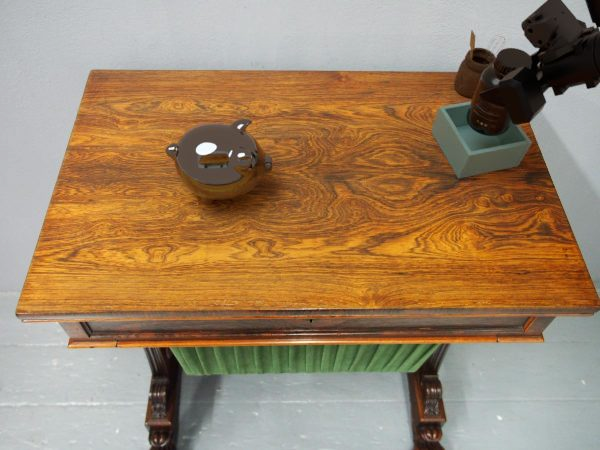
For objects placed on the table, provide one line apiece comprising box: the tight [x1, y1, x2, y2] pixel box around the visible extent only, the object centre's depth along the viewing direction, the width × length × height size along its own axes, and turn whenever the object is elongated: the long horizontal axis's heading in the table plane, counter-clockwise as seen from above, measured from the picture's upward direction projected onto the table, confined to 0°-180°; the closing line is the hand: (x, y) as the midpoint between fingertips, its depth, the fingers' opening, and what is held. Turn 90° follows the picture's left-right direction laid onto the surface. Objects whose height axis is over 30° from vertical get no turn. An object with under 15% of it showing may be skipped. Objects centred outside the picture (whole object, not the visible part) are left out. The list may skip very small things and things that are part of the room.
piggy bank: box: [164, 117, 274, 206], centre depth 72 cm, size 11×15×12 cm
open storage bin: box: [430, 100, 533, 180], centre depth 81 cm, size 11×11×6 cm
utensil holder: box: [453, 29, 506, 99], centre depth 87 cm, size 6×6×12 cm
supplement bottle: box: [466, 47, 533, 136], centre depth 73 cm, size 7×7×12 cm
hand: (493, 84), depth 73 cm, fingers closed on supplement bottle, 7 cm apart
